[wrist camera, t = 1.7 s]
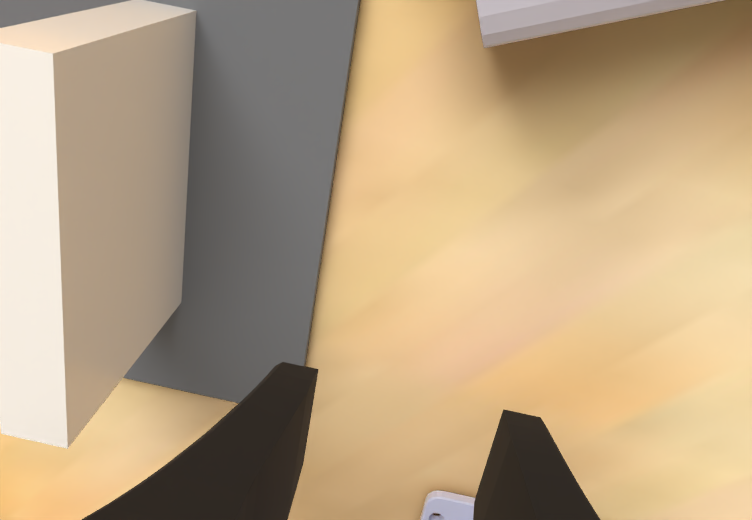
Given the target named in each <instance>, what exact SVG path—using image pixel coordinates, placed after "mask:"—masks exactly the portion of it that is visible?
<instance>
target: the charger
mask: <svg viewBox="0 0 752 520" xmlns="http://www.w3.org/2000/svg"><path fill="white" fill-rule="evenodd" d="M719 1H724V0H476V4H477V10H478V16H479V23H480V29H481V35H482V41H483V47H484V48H488V47H493V46H498V45H503V44H508V43H513V42H518V41H523V40H528V39H533V38H538V37H543V36H548V35H553V34H558V33H563V32H568V31H573V30H578V29H583V28H588V27H593V26H598V25H603V24H608V23H613V22H618V21H623V20H628V19H633V18H638V17H643V16H648V15H653V14H658V13H663V12H668V11H673V10H678V9H684V8H689V7H694V6H699V5H704V4H709V3H714V2H719Z"/></svg>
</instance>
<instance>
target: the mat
mask: <svg viewBox="0 0 752 520" xmlns="http://www.w3.org/2000/svg"><path fill="white" fill-rule="evenodd" d="M126 1H130V0H0V28H4V27H8V26H13V25H18V24H22V23H27V22H32V21H36V20H41V19H46V18H51V17H55V16H60V15H65V14H69V13H74V12H79V11H83V10H88V9H93V8H98V7H102V6H107V5H112V4H116V3H121V2H126ZM146 1H151V2H156V3H161V4H166V5H171V6H176V7H181V8H186V9H191V10H196V27H195V47H194V66H193V86H192V105H191V125H190V144H189V164H188V183H187V203H186V222H185V242H184V261H183V281H182V300H181V303H180V305H179V306H178V307H177V309H176V310H175V311H174V313H173V314H172V315H171V316H170V318H169V319H168V320H167V322H166V323H165V324H164V325H163V327H162V328H161V329H160V331H159V332H158V333H157V334H156V336H155V337H154V338H153V340H152V341H151V342H150V343H149V345H148V346H147V347H146V349H145V350H144V351H143V352H142V354H141V355H140V356H139V358H138V359H137V360H136V361H135V363H134V364H133V365H132V367H131V368H130V369H129V370H128V372H127V373H126V374H125V376H124V377H123V378H127V379H131V380H136V381H140V382H145V383H150V384H154V385H159V386H163V387H168V388H172V389H177V390H181V391H186V392H191V393H195V394H200V395H204V396H209V397H213V398H218V399H223V400H227V401H232V402H236V403H240V402H241V401H242V400H243V399H244V398H245V397H246V396H247V395H248V394H249V393H250V392H251V391H252V390H253V389H254V388H255V387H256V386H257V385H258V384H259V383H260V382H261V381H262V380H263V379H264V378H265V377H266V376H267V375H268V373H269V372H270V371H271V370H272V369H273V368H274V367H275V366H276V365H278V364H279V363H281V362H286V363H291V364H295V365H300V366H305V364H306V358H307V351H308V344H309V338H310V331H311V324H312V318H313V311H314V304H315V298H316V291H317V285H318V278H319V271H320V265H321V258H322V251H323V245H324V238H325V232H326V225H327V218H328V212H329V205H330V198H331V192H332V185H333V178H334V172H335V165H336V159H337V152H338V145H339V139H340V132H341V125H342V119H343V112H344V106H345V99H346V92H347V86H348V79H349V72H350V66H351V59H352V52H353V46H354V39H355V33H356V26H357V19H358V13H359V6H360V0H146Z"/></svg>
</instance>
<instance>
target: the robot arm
mask: <svg viewBox="0 0 752 520" xmlns="http://www.w3.org/2000/svg"><path fill="white" fill-rule="evenodd" d="M317 374H318V369H314V368H309V367H305V366H300V365H295V364H291V363H286V362H281V363H279V364H278V365H276V366H275V367H274V368H273V369H272V370H271V371H270V372H269V373H268V375H267V376H266V377H265V378H264V379H263V380H262V381H261V382H260V383H259V384H258V385H257V386H256V387H255V388H254V389H253V390H252V391H251V392H250V393H249V394H248V395H247V396H246V397H245V398H244V399H243V400H242V401H241V402H240V403H239V404H238V405H237V406H236V407H235V408H233V409H232V410H231V411H230V412H229V413H228V414H227V415H226V416H225V417H223V418H222V419H221V420H220V421H219V422H218V423H217V424H216V425H214V426H213V427H212V428H211V429H210V430H209V431H208V432H207V433H205V434H204V435H203V436H202V437H201V438H199V439H198V440H197V441H196V442H194V443H193V444H192V445H190V446H189V447H188V448H187V449H185V450H184V451H183V452H182V453H180V454H179V455H178V456H176V457H175V458H174V459H173V460H171V461H170V462H169V463H168V464H166V465H165V466H164V467H162V468H161V469H159V470H158V471H157V472H155V473H154V474H152V475H151V476H150V477H148V478H147V479H145V480H144V481H143V482H141V483H140V484H138V485H137V486H135V487H134V488H132V489H131V490H129V491H128V492H126V493H124V494H123V495H121V496H120V497H118V498H117V499H115V500H114V501H112V502H111V503H109V504H107V505H106V506H104V507H102V508H101V509H99V510H97V511H95V512H94V513H92V514H90V515H89V516H87V517H85V518H84V519H82V520H287V519H288V516H289V512H290V508H291V505H292V501H293V498H294V494H295V491H296V487H297V484H298V480H299V476H300V473H301V469H302V466H303V461H304V455H305V449H306V443H307V436H308V430H309V424H310V418H311V412H312V405H313V399H314V393H315V387H316V381H317ZM433 513H439V514H441V515H439V516H435V515H433ZM420 520H600V519H599V517H598V515H597V514H596V512H595V511H594V509H593V507H592V506H591V504H590V503H589V501H588V499H587V498H586V496H585V495H584V493H583V491H582V489H581V488H580V486H579V484H578V483H577V481H576V479H575V478H574V476H573V474H572V472H571V471H570V469H569V467H568V465H567V464H566V462H565V460H564V458H563V456H562V455H561V453H560V451H559V449H558V447H557V446H556V444H555V442H554V440H553V438H552V436H551V435H550V433H549V431H548V429H547V427H546V426H545V424H544V422H543V421H542V419H541V418H540V417H536V416H531V415H526V414H522V413H517V412H513V411H508V410H503V413H502V416H501V419H500V422H499V425H498V428H497V432H496V435H495V438H494V441H493V444H492V447H491V451H490V454H489V457H488V460H487V463H486V466H485V470H484V473H483V476H482V479H481V482H480V485H479V488H478V492H477V495H476V498H473V497H469V496H464V495H460V494H455V493H451V492H446V491H439V490H436V491H432V492H431V493H429V494H428V495H427V497H426V499H425V503H424V506H423V510H422V514H421V517H420Z"/></svg>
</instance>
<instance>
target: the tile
mask: <svg viewBox="0 0 752 520" xmlns="http://www.w3.org/2000/svg"><path fill="white" fill-rule="evenodd" d="M195 27H196V10H191V9H186V8H181V7H176V6H171V5H166V4H161V3H156V2H151V1H146V0H130V1H126V2H121V3H116V4H112V5H107V6H102V7H98V8H93V9H88V10H83V11H79V12H74V13H69V14H65V15H60V16H55V17H51V18H46V19H41V20H36V21H32V22H27V23H22V24H18V25H13V26H8V27H4V28H0V426H1V434H5V435H9V436H14V437H18V438H23V439H27V440H31V441H36V442H40V443H45V444H49V445H54V446H58V447H63V448H67V449H68V448H69V446H70V445H71V444H72V442H73V441H74V440H75V439H76V437H77V436H78V435H79V433H80V432H81V431H82V430H83V428H84V427H85V426H86V424H87V423H88V422H89V421H90V419H91V418H92V417H93V415H94V414H95V413H96V412H97V410H98V409H99V408H100V406H101V405H102V404H103V403H104V401H105V400H106V399H107V397H108V396H109V395H110V394H111V392H112V391H113V390H114V388H115V387H116V386H117V385H118V383H119V382H120V381H121V379H122V378H123V377H124V376H125V374H126V373H127V372H128V370H129V369H130V368H131V367H132V365H133V364H134V363H135V361H136V360H137V359H138V358H139V356H140V355H141V354H142V352H143V351H144V350H145V349H146V347H147V346H148V345H149V343H150V342H151V341H152V340H153V338H154V337H155V336H156V334H157V333H158V332H159V331H160V329H161V328H162V327H163V325H164V324H165V323H166V322H167V320H168V319H169V318H170V316H171V315H172V314H173V313H174V311H175V310H176V309H177V307H178V306H179V305H180V303H181V300H182V281H183V261H184V242H185V222H186V203H187V183H188V164H189V144H190V125H191V105H192V86H193V66H194V47H195Z"/></svg>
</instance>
